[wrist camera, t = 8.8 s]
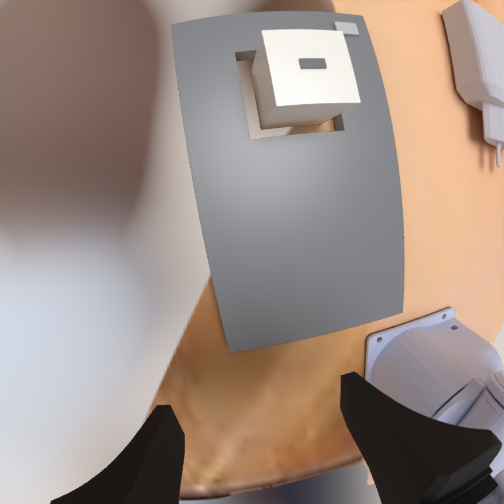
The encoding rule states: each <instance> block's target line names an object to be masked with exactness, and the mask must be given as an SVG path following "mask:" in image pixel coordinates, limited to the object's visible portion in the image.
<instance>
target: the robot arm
mask: <svg viewBox="0 0 504 504" xmlns="http://www.w3.org/2000/svg"><path fill="white" fill-rule="evenodd" d="M454 315H455V309H454V308H452V307H450V308H447V309H444V310H442V311H439V312H437V313H434V314H431V315H429V316H426V317H423V318H420V319H418V320H415V321H412V322H409V323H406V324H403V325H400V326H397V327H394V328H391V329H388V330H384V331H381V332H378V333H375V334H372V335H370V336H369V337H368V339H367V350H366V368H365V379H364V378H362V377H361V376H360V375H359V374H357V373H356V372H351V373H348V374H344V375H341V398H340V408H341V411H342V414H343V417H344V420H345V422H346V425H347V427H348V429H349V431H350V433H351V435H352V437H353V439H354V440H355V442H356V444H357V446H358V448H359V450H360V452H361V453H362V455H363V457H364V459H365V461H366V463H367V465H368V467H369V469H370V472H371V474H372V477H373V480H374V482H375V485H376V488H377V490H378V494H379V497H380V499H381V502H382V504H504V370H503V365H502V361H501V359H500V356H499V354H498V353H497V351H496V349H495V348H494V347H493V346H492V345H491V344H490V343H489V342H487V341H486V340H485V339H483V338H482V337H480V336H479V335H478V334H476V333H475V332H474V331H472V330H471V329H469V328H468V327H467V326H465V325H464V324H462V323H461V322H460V321H458V320H457V319H455V318H454ZM442 316H443V317H442ZM379 337H380V338H379ZM378 338H379V339H378ZM377 339H378V340H377ZM184 455H185V434H184V432H183V430H182V428H181V426H180V424H179V422H178V420H177V418H176V416H175V414H174V412H173V410H172V407H171V405H157V406H156V407H155V409H154V410H153V411H152V413H151V414H150V416H149V417H148V418H147V420H146V421H145V423H144V424H143V425H142V427H141V428H140V430H139V431H138V432H137V434H136V435H135V436H134V438H133V439H132V440H131V442H130V443H129V444H128V445H127V446H126V447H125V448H124V450H123V451H122V452H121V453H120V454H119V455H118V456H117V457H116V458H115V459H114V461H112V462H111V463H110V464H109V465H108V466H107V467H106V468H105V469H104V470H102V471H101V472H100V473H99V474H97V475H96V476H95V477H93V478H92V479H91V480H89V481H88V482H87V483H85V484H83V485H82V486H80V487H79V488H77V489H75V490H74V491H71V492H70V493H68V494H65V495H63V496H61V497H59V498H57V499H54V500H52V501H51V503H50V504H179V492H180V485H181V477H182V470H183V463H184Z"/></svg>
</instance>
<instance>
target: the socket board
mask: <svg viewBox="0 0 504 504" xmlns="http://www.w3.org/2000/svg"><path fill="white" fill-rule="evenodd" d="M283 29H311V30H333V31H343V35H344V38H345V41H346V45H347V48H348V52H349V55H350V59H351V63H352V67H353V71H354V75H355V79H356V83H357V88H358V92H359V97H360V102H361V103H359V104H357V105H356V106H354V107H352V108H350V109H348V110H346V111H344V112H342V113H341V114H339V115H337V116H335V117H333V119H334V125H335V130H336V131H329V132H316V133H304V134H294V135H285V136H277V137H268V138H261V139H254V140H250V135H249V129H248V123H247V117H246V112H245V106H244V100H243V95H242V89H241V84H240V78H239V72H238V67H237V61H241V60H250V59H255V55H256V51H257V47H258V43H259V39H260V35H261V31H262V30H283ZM171 30H172V39H173V48H174V57H175V65H176V73H177V82H178V89H179V96H180V103H181V110H182V118H183V124H184V131H185V137H186V143H187V150H188V155H189V162H190V168H191V174H192V179H193V185H194V191H195V195H196V202H197V207H198V212H199V218H200V223H201V228H202V233H203V238H204V243H205V248H206V253H207V258H208V262H209V267H210V272H211V276H212V281H213V286H214V290H215V295H216V299H217V303H218V308H219V312H220V316H221V321H222V325H223V329H224V333H225V338H226V342H227V346H228V350H229V353H234V352H240V351H246V350H252V349H258V348H263V347H268V346H273V345H278V344H283V343H288V342H293V341H298V340H302V339H307V338H311V337H315V336H320V335H324V334H328V333H332V332H336V331H340V330H344V329H348V328H351V327H355V326H359V325H362V324H366V323H370V322H373V321H376V320H380V319H383V318H387V317H390V316H393V315H396V314H400V313H403V298H404V227H403V209H402V196H401V185H400V176H399V167H398V159H397V152H396V146H395V139H394V133H393V127H392V122H391V117H390V112H389V107H388V102H387V98H386V93H385V89H384V85H383V81H382V77H381V73H380V69H379V65H378V62H377V58H376V55H375V52H374V48H373V45H372V42H371V39H370V36H369V33H368V30H367V27H366V24H365V21H364V18H363V16H359V15H351V14H342V13H330V12H310V11H274V12H273V11H271V12H253V13H241V14H231V15H224V16H216V17H209V18H203V19H197V20H191V21H186V22H181V23H177V24H172V25H171Z"/></svg>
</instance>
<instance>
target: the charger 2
mask: <svg viewBox="0 0 504 504" xmlns="http://www.w3.org/2000/svg"><path fill="white" fill-rule="evenodd" d="M442 16H443V20H444V24H445V28H446V32H447V36H448V41H449V46H450V51H451V57H452V63H453V69H454V76H455V84H456V90H457V92H458V93H459V94H460V96H461V97H462V98H463V100H464V101H465V102H466V103H467V104H469V105H471V106H473V107H475V108H477V109H479V110H481V111H482V115H483V130H484V139H485V141H486V142H487V143H489V144H491V145H493V146H496V166H497V167H501V149H503V150H504V25H503V24H502V23H501V22H500V21H498V20H497V19H496V18H495V17H493V16H492V15H491V14H490V13H488V12H487V11H486V10H484V9H483V8H481V7H480V6H479V5H477V4H475V3H473V2H471V1H468V0H460V1H458V2H457V3H455V4H453V5H452V6H450V7H448V8H447V9H445V10H443V11H442Z"/></svg>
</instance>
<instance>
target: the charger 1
mask: <svg viewBox="0 0 504 504" xmlns="http://www.w3.org/2000/svg"><path fill="white" fill-rule="evenodd" d="M251 76H252V82H253V87H254V93H255V99H256V104H257V110H258V116H259V122H260V128H261V130H263V129H272V128H280V127H291V126H302V125H315V124H322V123H324V122H326V121H328V120H330V119H331V118H333V117H335V116H337V115H339V114H341V113H342V112H344V111H346V110H348V109H350V108H352V107H354V106H356V105H357V104H359V103H361V102H360V97H359V92H358V88H357V83H356V79H355V75H354V71H353V67H352V63H351V59H350V55H349V52H348V48H347V45H346V41H345V38H344V35H343V31H333V30H311V29H283V30H262V31H261V35H260V39H259V43H258V47H257V51H256V55H255V59H254V63H253V67H252V71H251Z"/></svg>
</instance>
